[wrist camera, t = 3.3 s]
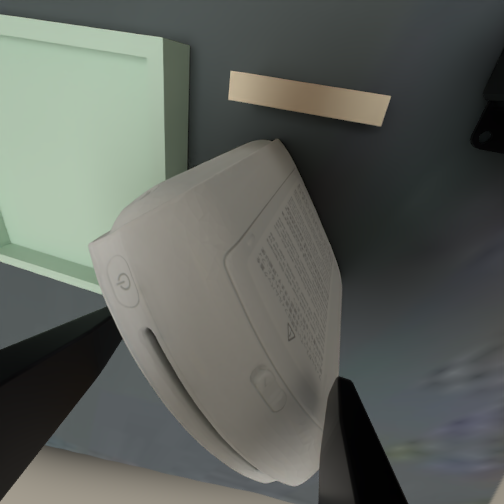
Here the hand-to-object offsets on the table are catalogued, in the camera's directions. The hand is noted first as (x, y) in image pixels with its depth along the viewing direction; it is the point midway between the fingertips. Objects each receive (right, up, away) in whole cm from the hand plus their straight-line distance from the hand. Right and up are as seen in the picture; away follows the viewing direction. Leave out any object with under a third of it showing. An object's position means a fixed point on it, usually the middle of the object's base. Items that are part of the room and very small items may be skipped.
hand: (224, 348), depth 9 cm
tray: (-11, +8, +11) cm, 18 cm away
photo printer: (+3, +5, +9) cm, 10 cm away
